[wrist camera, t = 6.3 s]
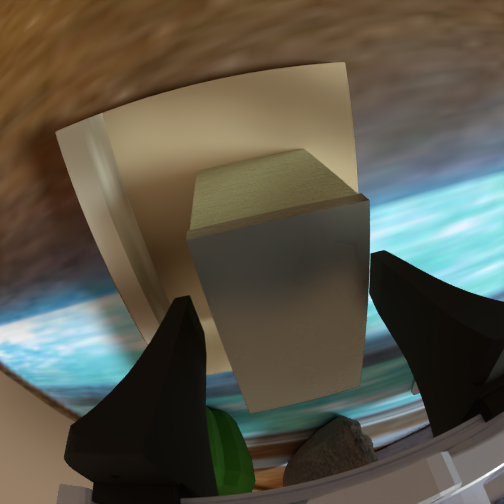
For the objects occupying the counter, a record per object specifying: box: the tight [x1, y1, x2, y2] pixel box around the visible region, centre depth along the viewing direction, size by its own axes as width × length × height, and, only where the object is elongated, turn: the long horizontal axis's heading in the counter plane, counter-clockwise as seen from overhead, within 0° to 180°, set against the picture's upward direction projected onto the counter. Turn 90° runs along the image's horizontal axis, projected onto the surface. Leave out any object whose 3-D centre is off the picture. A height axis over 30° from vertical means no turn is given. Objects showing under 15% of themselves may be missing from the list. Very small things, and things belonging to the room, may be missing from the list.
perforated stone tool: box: [283, 416, 378, 487], centre depth 26 cm, size 15×5×7 cm, turn 155°
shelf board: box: [55, 62, 358, 375], centre depth 15 cm, size 16×11×4 cm
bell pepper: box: [206, 406, 255, 496], centre depth 20 cm, size 8×8×10 cm
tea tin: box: [186, 149, 370, 413], centre depth 12 cm, size 8×5×6 cm, turn 11°
